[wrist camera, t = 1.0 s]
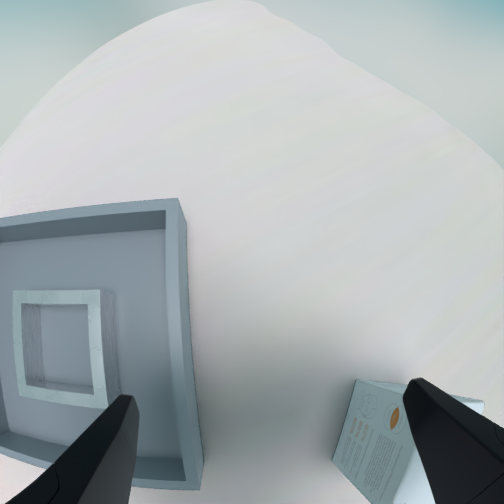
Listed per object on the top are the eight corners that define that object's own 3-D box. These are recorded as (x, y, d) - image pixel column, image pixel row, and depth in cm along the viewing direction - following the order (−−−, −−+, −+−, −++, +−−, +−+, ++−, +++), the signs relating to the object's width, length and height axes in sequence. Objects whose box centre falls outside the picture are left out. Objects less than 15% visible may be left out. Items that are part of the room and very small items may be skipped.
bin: (203, 461, 20) (199, 490, 15) (11, 434, 18) (-17, 445, 13) (186, 222, 25) (177, 197, 20) (1, 238, 23) (-28, 223, 18)
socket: (122, 400, 20) (108, 409, 17) (38, 390, 19) (19, 395, 16) (114, 294, 22) (99, 289, 19) (32, 294, 21) (12, 290, 18)
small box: (382, 461, 21) (447, 507, 11) (329, 460, 21) (383, 520, 11) (406, 383, 23) (488, 400, 13) (355, 376, 23) (430, 400, 13)
